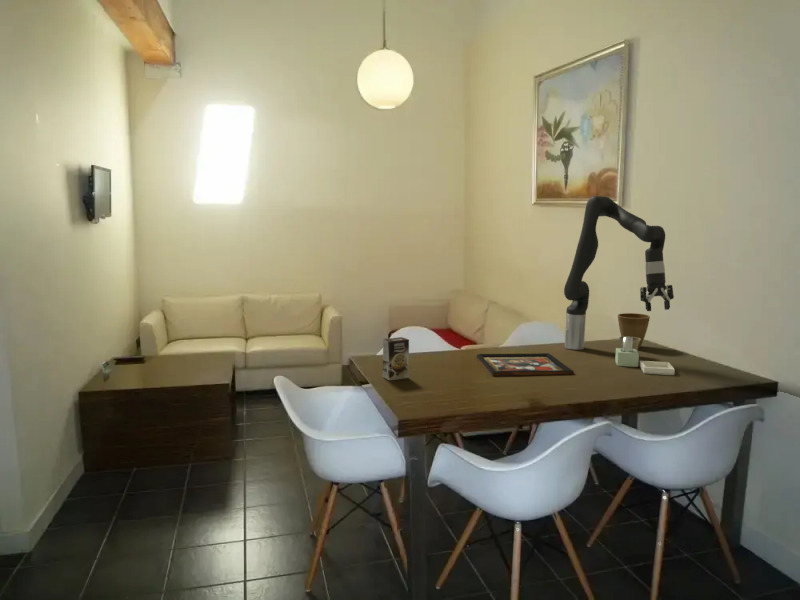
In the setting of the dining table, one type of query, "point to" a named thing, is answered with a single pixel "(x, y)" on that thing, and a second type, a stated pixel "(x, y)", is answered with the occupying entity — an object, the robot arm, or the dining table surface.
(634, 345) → the flower pot
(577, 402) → the dining table surface
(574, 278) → the robot arm
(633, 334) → the plant pot
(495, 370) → the framed painting
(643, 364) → the tray
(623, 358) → the block
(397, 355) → the food box
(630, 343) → the pin
